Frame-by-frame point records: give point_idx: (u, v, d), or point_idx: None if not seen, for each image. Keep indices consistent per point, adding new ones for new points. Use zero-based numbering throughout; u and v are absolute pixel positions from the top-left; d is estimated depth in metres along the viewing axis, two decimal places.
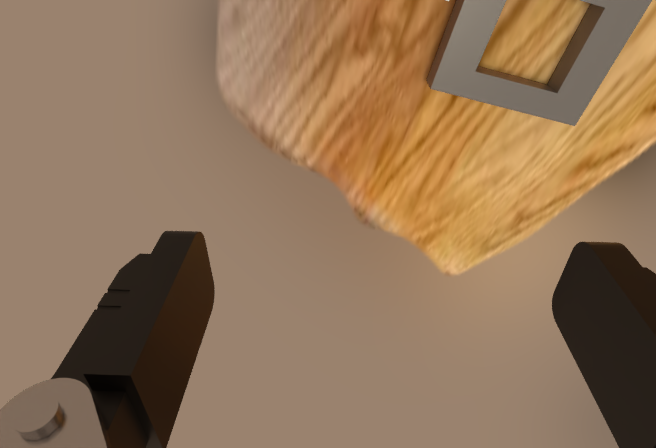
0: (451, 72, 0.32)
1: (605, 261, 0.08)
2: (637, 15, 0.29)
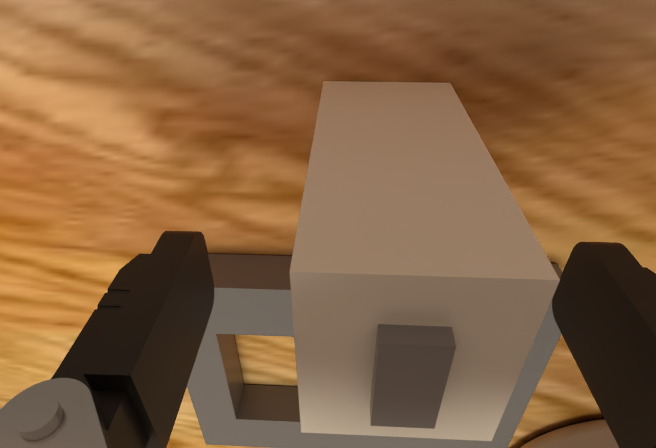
0: None
1: (605, 261, 0.08)
2: None
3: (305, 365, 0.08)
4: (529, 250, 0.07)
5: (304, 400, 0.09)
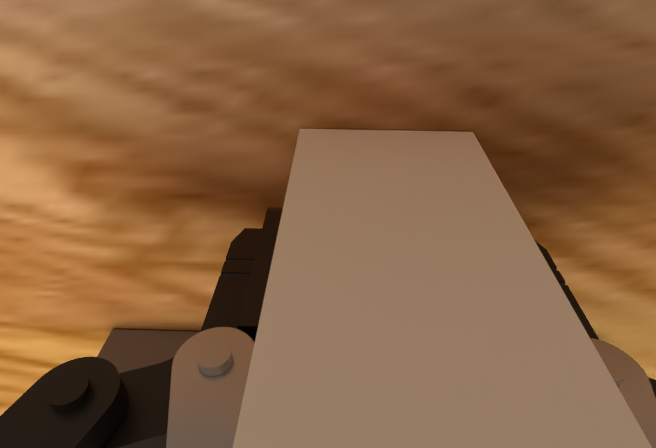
0: None
1: None
2: None
3: None
4: None
5: None
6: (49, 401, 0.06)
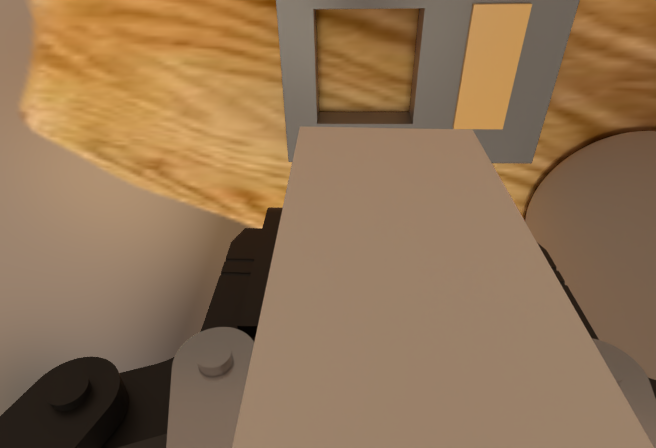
0: None
1: None
2: None
3: None
4: None
5: None
6: (49, 401, 0.06)
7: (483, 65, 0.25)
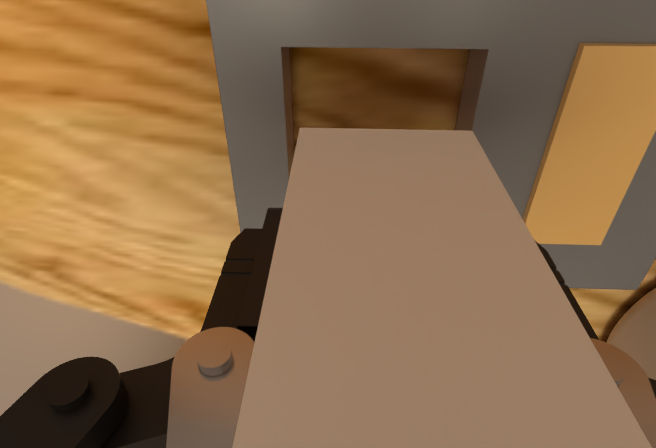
0: None
1: None
2: None
3: None
4: None
5: None
6: (49, 401, 0.06)
7: (584, 149, 0.14)
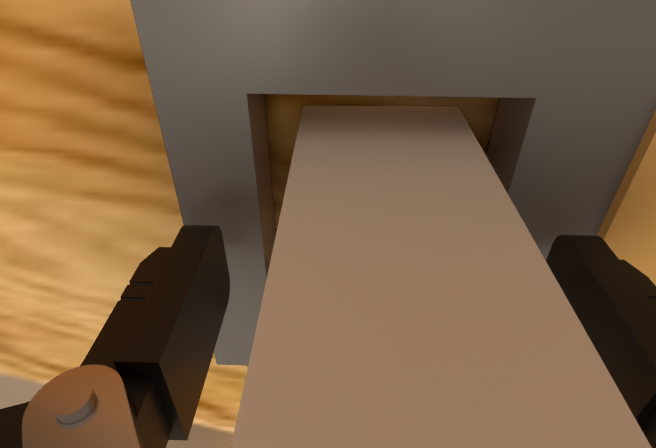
0: (210, 4, 0.08)
1: (582, 253, 0.08)
2: None
3: None
4: (605, 405, 0.04)
5: None
6: None
7: None
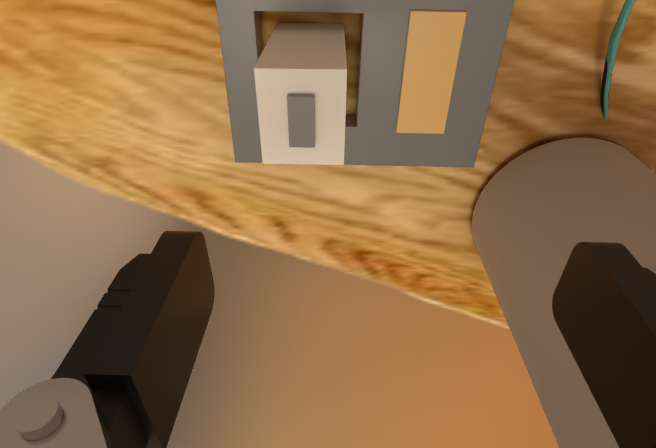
0: None
1: (605, 261, 0.08)
2: (356, 160, 0.29)
3: (262, 118, 0.20)
4: (341, 64, 0.19)
5: (262, 140, 0.21)
6: None
7: (422, 70, 0.25)
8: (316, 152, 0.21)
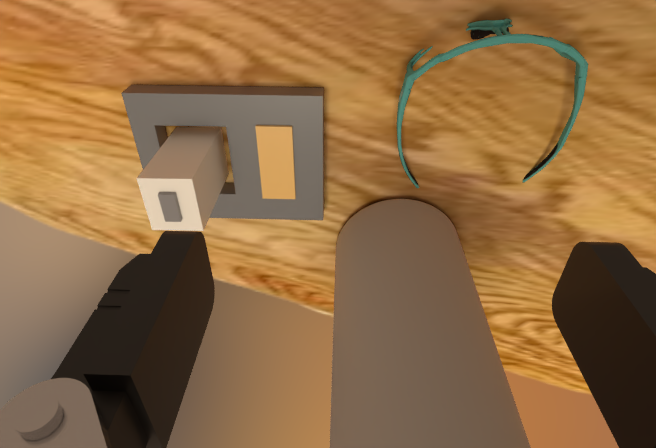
0: (143, 105, 0.35)
1: (605, 261, 0.08)
2: (239, 215, 0.41)
3: (146, 205, 0.32)
4: (191, 174, 0.31)
5: (149, 217, 0.33)
6: None
7: (271, 160, 0.37)
8: (184, 223, 0.33)
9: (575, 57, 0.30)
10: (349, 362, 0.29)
